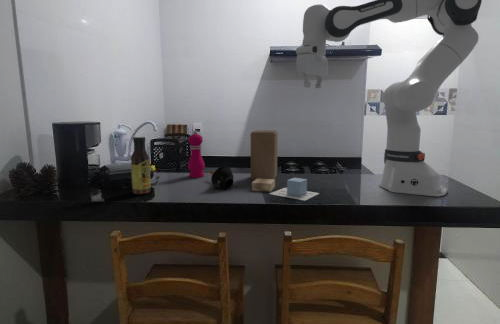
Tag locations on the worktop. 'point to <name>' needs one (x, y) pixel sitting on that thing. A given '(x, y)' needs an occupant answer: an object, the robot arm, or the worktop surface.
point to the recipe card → (304, 197)
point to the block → (263, 154)
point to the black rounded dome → (222, 177)
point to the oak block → (263, 185)
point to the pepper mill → (196, 156)
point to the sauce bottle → (140, 167)
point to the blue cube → (297, 187)
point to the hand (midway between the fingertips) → (312, 87)
